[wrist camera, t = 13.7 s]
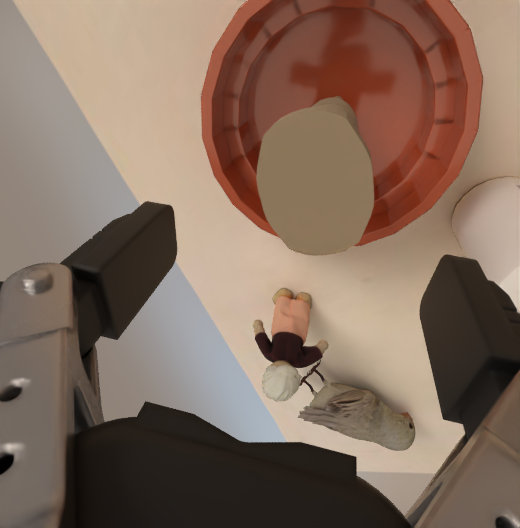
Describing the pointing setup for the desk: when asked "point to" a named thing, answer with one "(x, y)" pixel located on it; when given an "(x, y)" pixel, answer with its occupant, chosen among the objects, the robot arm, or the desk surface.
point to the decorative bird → (358, 415)
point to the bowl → (348, 94)
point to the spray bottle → (492, 231)
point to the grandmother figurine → (287, 345)
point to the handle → (316, 178)
